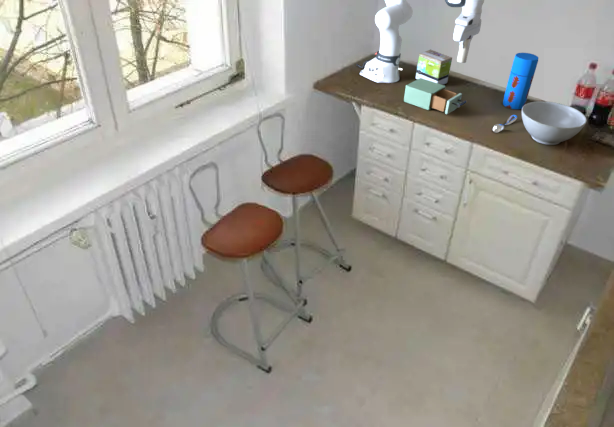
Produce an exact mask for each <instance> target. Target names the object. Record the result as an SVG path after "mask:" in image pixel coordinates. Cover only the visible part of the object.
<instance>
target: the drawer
mask: <svg viewBox="0 0 614 427" xmlns="http://www.w3.org/2000/svg"><path fill="white" fill-rule="evenodd" d="M462 96H463V93H461V92H459V93H457V92H456V91H455V92H454V91H452V90H449V89H446V88H445V89H442V90H440V91H438V92H436V93H435V94H433V95H432V98H431V103H430V107H431V109H434V110H437V111H440V112H444V115H449V114H450V113H452V112H453V111H455V110H456V109H458V108H460V107H462V106H464V105H465V104H467V100H462Z"/></svg>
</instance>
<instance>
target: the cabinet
mask: <svg viewBox="0 0 614 427" xmlns="http://www.w3.org/2000/svg"><path fill="white" fill-rule="evenodd" d="M404 88H405V90H404V96H403V102H404V103H407V104H409V105H413V106H415V107H417V108H421V109H424V110H427V111H430V110H431V109H432V108H431V107H430V103H431V98H432V95H433V94H435V93H436V92H438V91H440V90H442V89H446V85H445V84H443V85H441V84H438V83H435V82H432V81H428V80H425V79H422V78H419V79H416V80H413V81H411V82H410V83H408V84H405V87H404Z"/></svg>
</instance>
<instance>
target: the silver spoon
mask: <svg viewBox="0 0 614 427" xmlns="http://www.w3.org/2000/svg"><path fill="white" fill-rule="evenodd" d="M513 117H514V118H513ZM517 119H518V115H516V114H512V115H511V114H510V116H509V117H508V118H507V120H506V122H505V123H495V124H494V125H493V126H492V131H493V133H495V134H496V133H499V132H502V131H503V130H504V129H505V126H509V125H511V124H512V123H514V122H516V120H517Z"/></svg>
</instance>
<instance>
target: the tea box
mask: <svg viewBox="0 0 614 427" xmlns="http://www.w3.org/2000/svg"><path fill="white" fill-rule="evenodd" d="M452 62H453V57H452V56H450V55H447V54H444V53H441V52H438V51H436V50H432V49H428V50H425V51H422V52H420V53H419V54H418V60H417V66H416V72H415V79H416V80H417V79H419V78H422V79H425V80H428V81H432V82H435V83H438V84H441V85H445V84H447V83H448V81H449V77H450V72H451V66H452Z"/></svg>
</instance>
